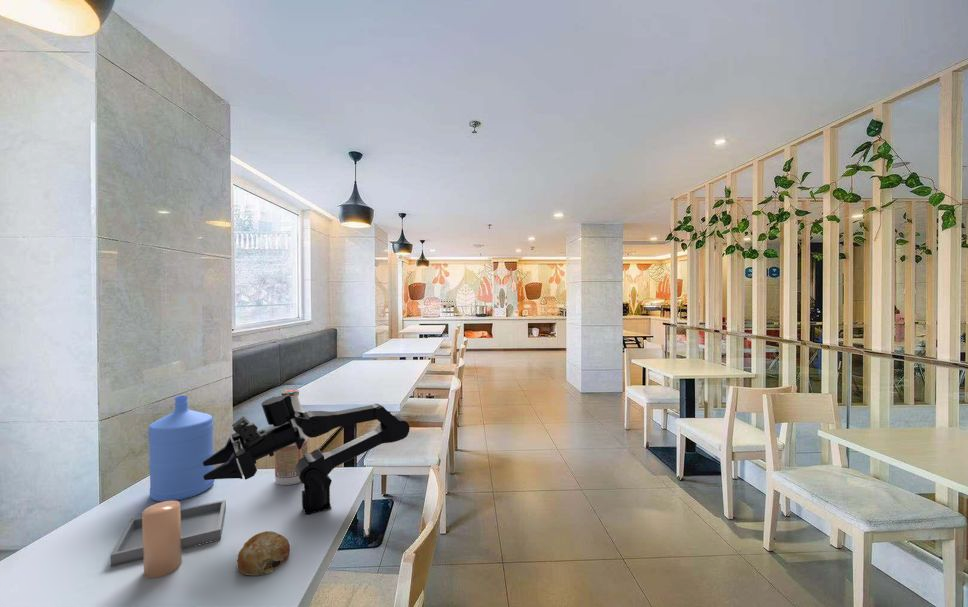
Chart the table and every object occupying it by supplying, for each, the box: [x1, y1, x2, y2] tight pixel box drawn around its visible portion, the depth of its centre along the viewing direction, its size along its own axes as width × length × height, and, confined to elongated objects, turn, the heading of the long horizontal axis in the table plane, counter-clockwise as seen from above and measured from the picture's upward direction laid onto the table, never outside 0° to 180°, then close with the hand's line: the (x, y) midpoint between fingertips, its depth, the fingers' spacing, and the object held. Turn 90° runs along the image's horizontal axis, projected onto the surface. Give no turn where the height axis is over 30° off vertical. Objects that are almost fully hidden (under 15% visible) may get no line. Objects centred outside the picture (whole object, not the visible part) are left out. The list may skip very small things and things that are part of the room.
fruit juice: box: [274, 389, 309, 486], centre depth 130 cm, size 9×9×28 cm
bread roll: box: [236, 530, 291, 577], centre depth 90 cm, size 10×10×8 cm
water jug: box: [147, 395, 216, 502], centre depth 123 cm, size 16×16×28 cm
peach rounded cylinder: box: [141, 500, 183, 579], centre depth 88 cm, size 6×6×13 cm
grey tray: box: [110, 499, 227, 567], centre depth 101 cm, size 20×16×2 cm
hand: (203, 470), depth 98 cm, fingers open, 9 cm apart
